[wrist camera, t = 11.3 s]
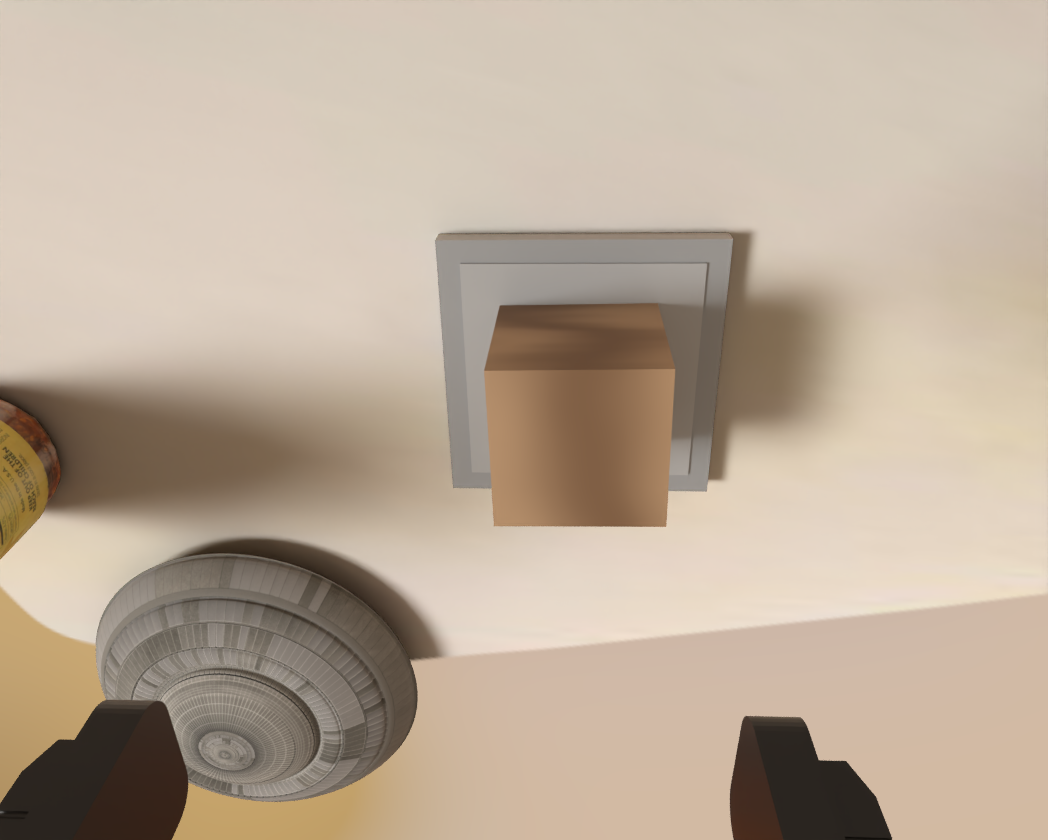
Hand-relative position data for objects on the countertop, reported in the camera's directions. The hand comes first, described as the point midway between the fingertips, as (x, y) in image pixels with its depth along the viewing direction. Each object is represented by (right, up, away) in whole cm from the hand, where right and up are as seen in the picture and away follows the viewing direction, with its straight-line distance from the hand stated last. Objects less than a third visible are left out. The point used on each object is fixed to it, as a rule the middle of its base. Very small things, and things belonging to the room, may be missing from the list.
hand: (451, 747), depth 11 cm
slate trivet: (+3, +7, +19) cm, 20 cm away
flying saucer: (-11, -7, +28) cm, 31 cm away
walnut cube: (+3, +6, +18) cm, 19 cm away
